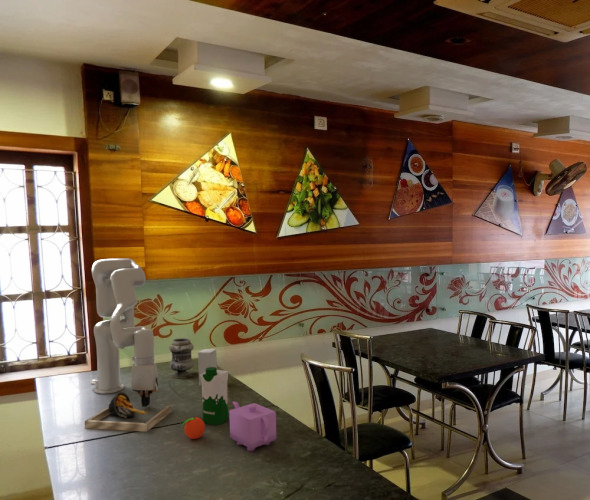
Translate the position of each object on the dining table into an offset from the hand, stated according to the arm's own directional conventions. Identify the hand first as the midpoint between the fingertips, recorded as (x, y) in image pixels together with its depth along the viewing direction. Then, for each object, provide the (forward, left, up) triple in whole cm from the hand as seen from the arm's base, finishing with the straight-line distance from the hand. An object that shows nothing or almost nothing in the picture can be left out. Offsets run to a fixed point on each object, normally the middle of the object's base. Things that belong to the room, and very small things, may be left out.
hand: (145, 405), depth 192 cm
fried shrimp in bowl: (-2, -10, -1) cm, 10 cm away
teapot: (+51, -25, -1) cm, 57 cm away
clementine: (+31, -25, -1) cm, 40 cm away
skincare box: (+13, +34, -1) cm, 36 cm away
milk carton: (+33, -9, -1) cm, 34 cm away
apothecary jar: (-5, +45, -1) cm, 45 cm away
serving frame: (0, -12, -1) cm, 12 cm away
